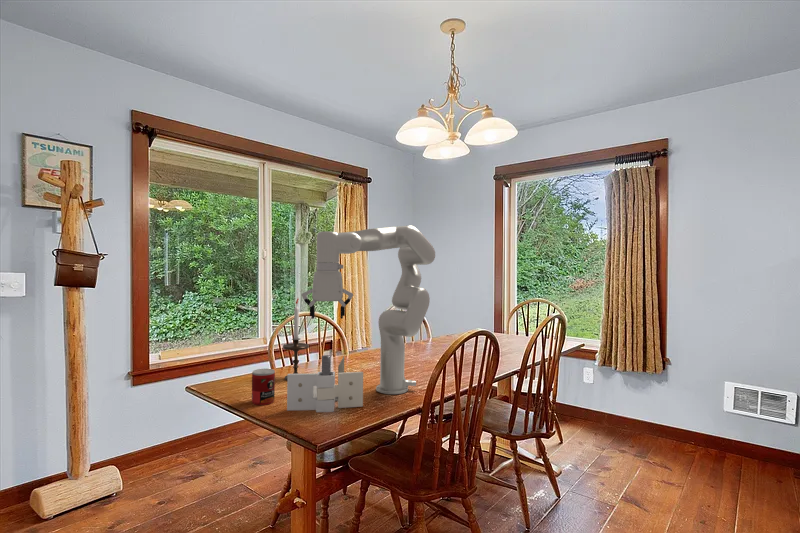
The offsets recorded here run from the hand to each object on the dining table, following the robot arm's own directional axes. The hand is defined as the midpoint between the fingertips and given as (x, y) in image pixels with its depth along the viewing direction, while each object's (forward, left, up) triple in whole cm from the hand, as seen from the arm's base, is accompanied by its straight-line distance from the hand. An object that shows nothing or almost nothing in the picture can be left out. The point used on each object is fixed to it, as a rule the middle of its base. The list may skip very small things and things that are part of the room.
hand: (327, 318), depth 144 cm
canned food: (+23, -9, -31) cm, 40 cm away
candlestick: (+16, -40, -31) cm, 53 cm away
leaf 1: (+5, 0, -31) cm, 31 cm away
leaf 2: (-5, 0, -31) cm, 31 cm away
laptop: (+2, -18, -31) cm, 36 cm away
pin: (0, 0, -31) cm, 31 cm away
